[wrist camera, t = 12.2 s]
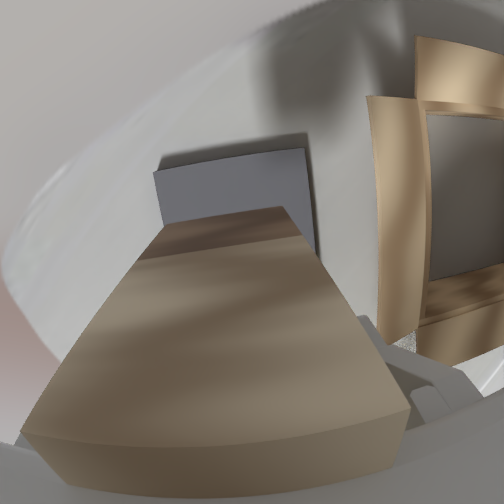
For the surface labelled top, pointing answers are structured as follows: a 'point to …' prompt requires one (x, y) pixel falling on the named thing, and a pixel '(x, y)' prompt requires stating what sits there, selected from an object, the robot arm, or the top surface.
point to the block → (221, 373)
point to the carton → (420, 207)
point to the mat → (238, 188)
